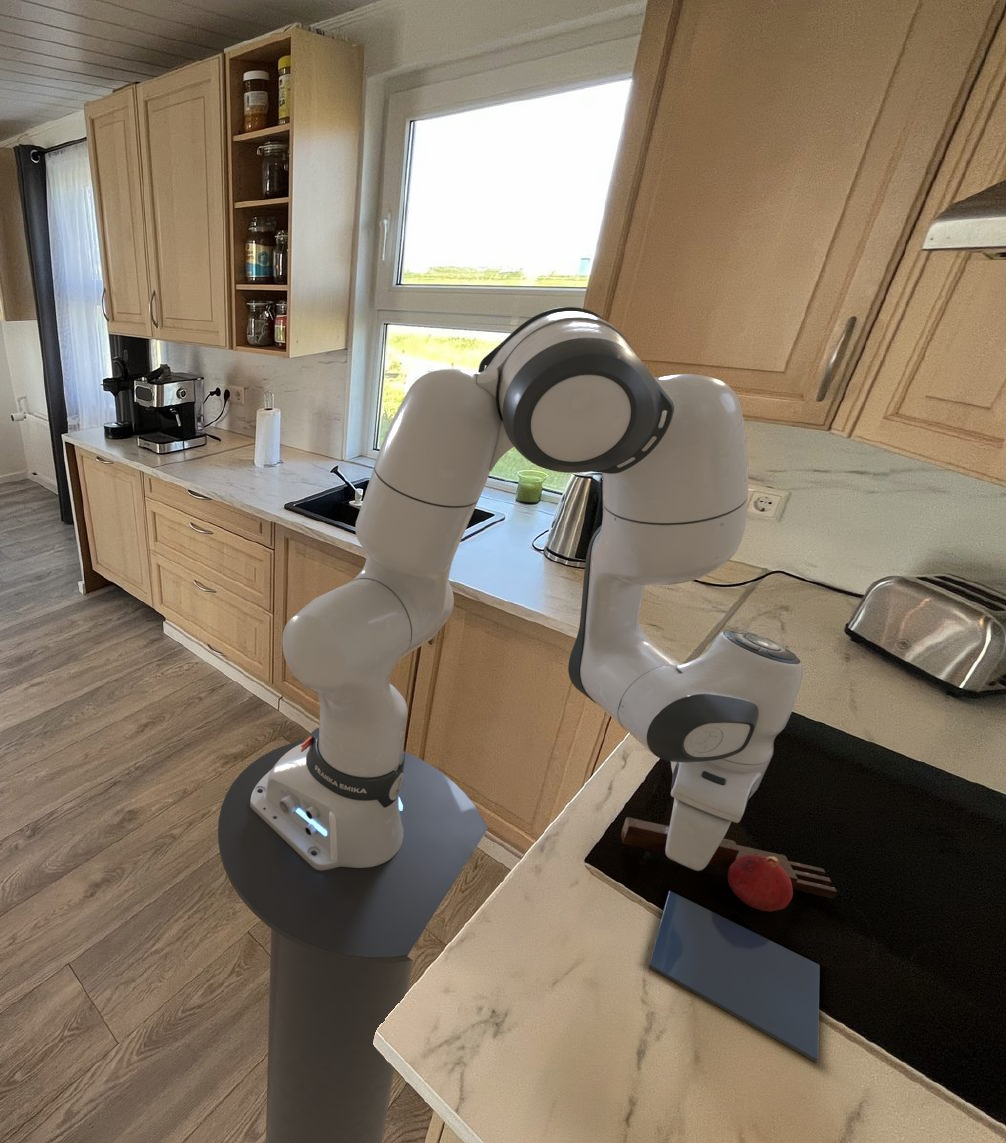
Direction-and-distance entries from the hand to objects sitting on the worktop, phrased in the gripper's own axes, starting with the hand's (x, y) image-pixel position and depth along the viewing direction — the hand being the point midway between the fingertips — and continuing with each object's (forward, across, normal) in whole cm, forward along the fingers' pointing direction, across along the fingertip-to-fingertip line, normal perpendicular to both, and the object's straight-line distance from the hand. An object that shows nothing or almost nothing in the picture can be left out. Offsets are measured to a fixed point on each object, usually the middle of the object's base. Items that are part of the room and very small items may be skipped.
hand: (682, 843), depth 79 cm
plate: (+3, +12, +7) cm, 15 cm away
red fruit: (+3, +2, +8) cm, 9 cm away
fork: (+2, -2, +4) cm, 5 cm away
